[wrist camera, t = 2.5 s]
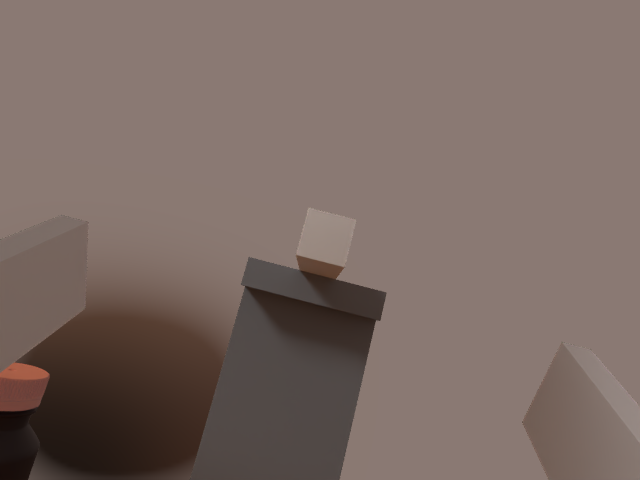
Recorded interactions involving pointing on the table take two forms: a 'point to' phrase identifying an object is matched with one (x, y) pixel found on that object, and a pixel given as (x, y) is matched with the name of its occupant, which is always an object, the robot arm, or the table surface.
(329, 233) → the beige teal square bar
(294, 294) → the shelf stand
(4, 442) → the bottle
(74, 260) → the robot arm
